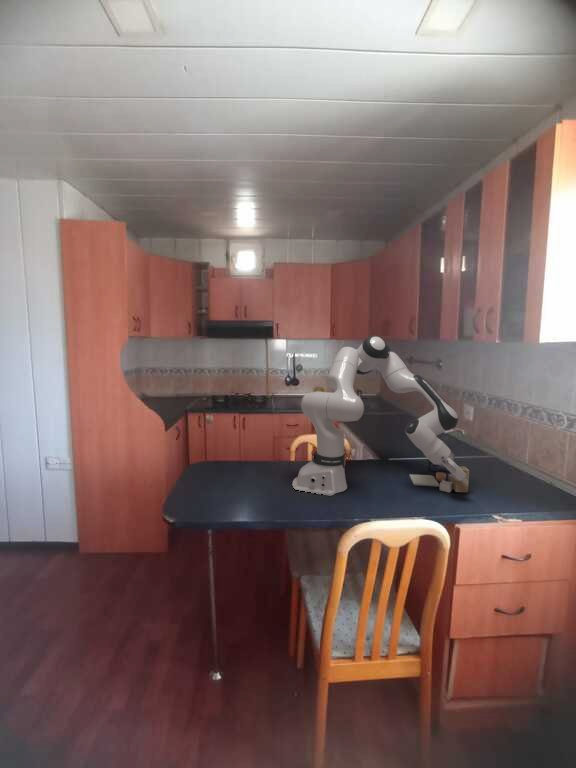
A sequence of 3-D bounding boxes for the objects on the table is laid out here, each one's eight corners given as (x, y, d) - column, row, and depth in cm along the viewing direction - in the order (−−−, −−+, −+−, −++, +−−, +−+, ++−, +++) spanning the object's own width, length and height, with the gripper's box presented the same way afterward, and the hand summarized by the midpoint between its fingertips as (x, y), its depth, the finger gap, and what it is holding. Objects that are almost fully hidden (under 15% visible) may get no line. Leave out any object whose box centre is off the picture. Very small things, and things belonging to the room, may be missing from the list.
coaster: (414, 485, 152) (414, 483, 152) (409, 476, 162) (409, 474, 162) (439, 486, 151) (439, 484, 151) (432, 477, 161) (432, 475, 161)
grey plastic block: (453, 484, 154) (453, 477, 154) (447, 480, 158) (448, 474, 157) (461, 483, 154) (462, 477, 154) (456, 480, 158) (456, 473, 158)
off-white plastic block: (439, 490, 148) (439, 483, 147) (442, 487, 151) (442, 480, 151) (449, 492, 145) (450, 485, 145) (452, 489, 148) (453, 482, 148)
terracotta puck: (437, 482, 156) (437, 475, 156) (434, 478, 160) (435, 471, 160) (446, 482, 156) (447, 475, 155) (444, 478, 160) (444, 472, 159)
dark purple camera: (429, 471, 168) (430, 449, 167) (427, 466, 175) (428, 445, 173) (454, 473, 166) (455, 451, 164) (451, 468, 172) (452, 446, 171)
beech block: (455, 491, 145) (457, 469, 143) (452, 487, 149) (453, 465, 148) (467, 492, 144) (469, 470, 143) (463, 487, 149) (465, 466, 147)
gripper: (454, 456, 135) (480, 483, 135) (436, 441, 155) (458, 464, 155) (441, 468, 135) (466, 494, 136) (424, 451, 156) (447, 473, 156)
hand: (462, 478), depth 146 cm, fingers closed on beech block, 5 cm apart
